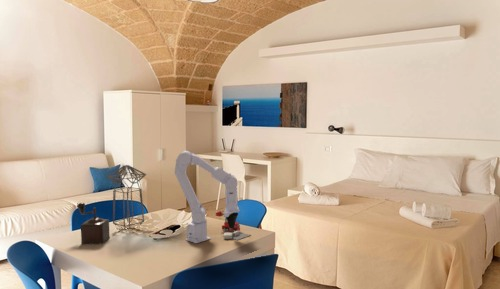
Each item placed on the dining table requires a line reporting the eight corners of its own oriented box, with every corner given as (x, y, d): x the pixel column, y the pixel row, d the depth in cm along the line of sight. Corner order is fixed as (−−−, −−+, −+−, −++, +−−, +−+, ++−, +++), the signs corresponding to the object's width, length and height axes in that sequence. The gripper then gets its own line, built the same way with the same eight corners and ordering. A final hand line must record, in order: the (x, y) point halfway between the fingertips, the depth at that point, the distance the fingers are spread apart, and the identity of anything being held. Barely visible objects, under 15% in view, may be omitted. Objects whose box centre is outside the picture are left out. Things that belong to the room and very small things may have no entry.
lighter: (223, 235, 197) (225, 230, 205) (223, 238, 197) (225, 233, 205) (237, 235, 196) (239, 230, 204) (237, 238, 196) (239, 233, 204)
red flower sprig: (237, 232, 207) (236, 213, 206) (216, 229, 214) (215, 211, 213) (241, 230, 209) (240, 212, 209) (219, 228, 217) (219, 210, 216)
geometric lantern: (150, 229, 215) (148, 164, 212) (126, 236, 202) (124, 167, 199) (130, 224, 224) (128, 162, 221) (106, 231, 210) (104, 165, 208)
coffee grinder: (111, 237, 202) (109, 201, 200) (102, 244, 191) (101, 206, 189) (80, 237, 202) (79, 201, 201) (70, 244, 191) (68, 206, 190)
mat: (237, 240, 195) (237, 239, 195) (222, 236, 202) (222, 235, 202) (250, 235, 202) (250, 235, 202) (236, 231, 209) (236, 231, 209)
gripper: (233, 204, 188) (234, 232, 189) (244, 198, 202) (244, 224, 203) (219, 203, 190) (220, 231, 191) (231, 197, 204) (231, 223, 205)
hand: (231, 227), depth 197 cm, fingers closed
